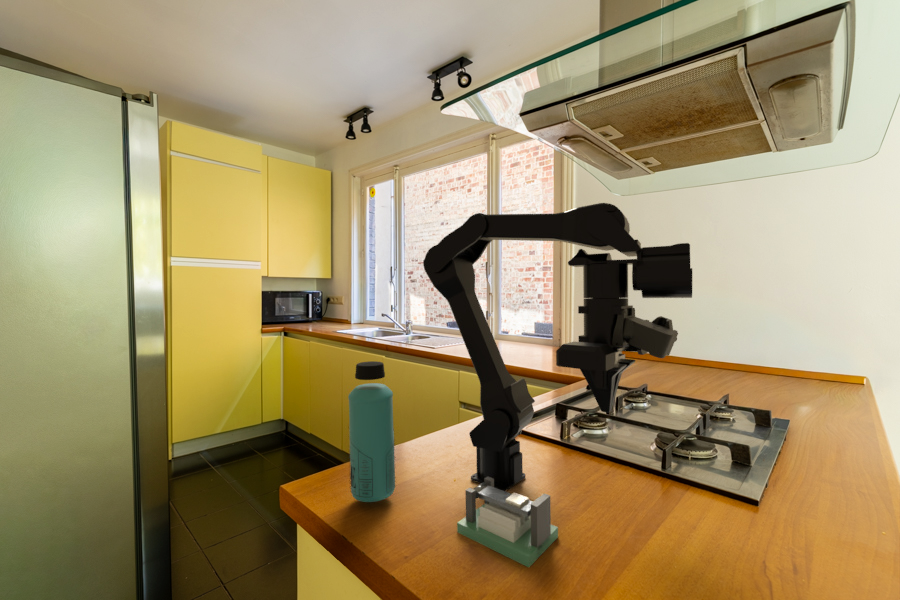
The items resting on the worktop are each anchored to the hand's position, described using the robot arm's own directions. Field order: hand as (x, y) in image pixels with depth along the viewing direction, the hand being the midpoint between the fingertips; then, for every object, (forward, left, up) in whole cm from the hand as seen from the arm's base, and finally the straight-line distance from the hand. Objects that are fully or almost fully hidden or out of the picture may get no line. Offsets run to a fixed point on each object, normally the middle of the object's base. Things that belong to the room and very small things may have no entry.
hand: (606, 411), depth 55 cm
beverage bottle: (-26, -20, -13) cm, 35 cm away
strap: (-7, -14, -9) cm, 19 cm away
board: (-7, -14, -13) cm, 21 cm away
